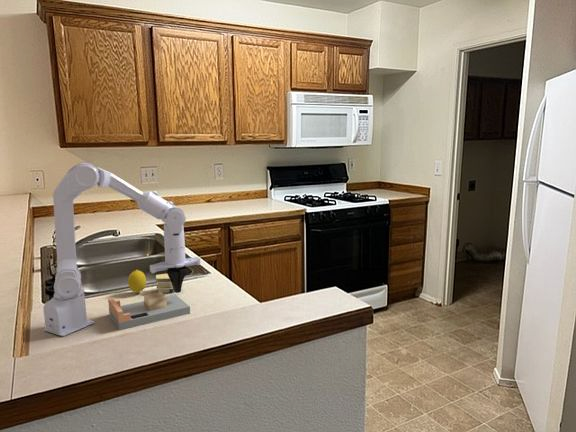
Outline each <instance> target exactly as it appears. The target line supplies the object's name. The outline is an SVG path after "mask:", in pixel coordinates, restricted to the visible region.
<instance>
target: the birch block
mask: <svg viewBox="0 0 576 432" xmlns="http://www.w3.org/2000/svg"><path fill="white" fill-rule="evenodd" d="M143 301H144V305H145V306H146V308H147V309H148V310H149V311H151V310H156V309H160V308H165V307H167V297H166V295H165V293H161V292H159V293H158V292H155V293H150V294H145V295H143Z"/></svg>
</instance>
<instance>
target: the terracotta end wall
mask: <svg viewBox="0 0 576 432" xmlns="http://www.w3.org/2000/svg"><path fill="white" fill-rule="evenodd" d="M107 299H108V300H107V301H108V310H109V309H110V311H111V312H112V314H113V315H114V317H115V318H116V319H117V321H118V322H119V323H121V322H125V321H130V320H131V317H130V313H127V314H123V311H122V309H121V308H120V307H121V306H122V305H121V300H115V298H114V297H108V298H107Z"/></svg>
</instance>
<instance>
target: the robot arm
mask: <svg viewBox="0 0 576 432" xmlns="http://www.w3.org/2000/svg"><path fill="white" fill-rule="evenodd" d="M95 186H98V188H110V189H112V190H114V191H116V192H118V193H120V194H121V195H124V196H126V197H127V198H129V199H131V200H133V201H135V202H136V203H137V208H138V209H139V210H140V211H143V212H144V213H146V214H147V215H150V216H151V217H153V218H154V219H155V218H156V219H157V220H161V221H162V223H163V242H164V258H165V260H164V261H162V262H161V261H160V262H158V263H154V264H149V272H150V273H151V274H154V273H157V272H163V271H164V272H165V274H168V276H169V278H170V280H171V283H172V285H173V289H174V290H173V292H174V293H176V294H178V293H181V290H182V286H183V282H184V279H185V277H186V274H187V273H188V268H187V267H191V266H199V265H200V266H201V258H200V257H199V256H197V257H195V256H194V257H187V258H186V244H185V243H186V241H185V231H184V230H185V229H184V224H185V222H186V220H187V217H186V215H185V213H184V211H183V210H182V209H181V208H179V207H178V206H176V204H174V202H172V200H171V201H170V200H169V201H167V200H166V199H164V198H163V197H161V196H159V193H158V192H157V191H155V190H154V191H151V190H146V191H141V190H140V189H139V188H137V187H135V186H133V185H132V184H131V183H129V182H127V181H125V180H124V179H122V178H121V177H118V176H117V175H116V174H114V173H113V172H110V171H108V170H105V169H104V168H101V167H99V166H97V167H95V165H93V164H92V163H90V162H85V161H83V162H82V161H81V162H79V163H77V164H76V165H74V166H72V167H70V169H68V170H67V172H66V173H65V175H64V176H63V177H62V179H61V180H60V182H59V183H58V185H56V187H55V189H54V190H53V194H52V198H53V202H52V203H53V216H54V218H53V219H54V231H55V232H54V233H55V234H54V235H55V249H56V266H57V267H56V270H57V271H56V273H55V277H54V279H55V280H54V281H55V282H54V284H53V289H54V291H53V292H54V293H53V297H52V298H51V299H50V300H48V301H45V302H44V305H43V316H44V325H45V327H44V328H43V330H44V331H46V332H48V333H50V334H54V335H57V336H60V337H65V336H67V335H69V334H72V333H74V332H77V331H80V330H82V329H83V328H84V329H85V328H86V327H88V326H91V325H93V324H95V321H94V320H92V319H88V318H87V307H86V305H87V304H86V297H85V289H83V288H82V287H83V286H82V273H81V270H79V267H78V264H77V250H76V231H75V230H76V229H75V214H74V213H75V211H74V209H75V208H74V200H75V199H76V198H77V197H79V196H80V195H81V194H82V193H83V192H85V191H87V190H90V189H92V188H94V187H95Z"/></svg>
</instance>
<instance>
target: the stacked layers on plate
mask: <svg viewBox="0 0 576 432" xmlns="http://www.w3.org/2000/svg"><path fill="white" fill-rule="evenodd" d="M155 283H156V290H157V293H159V292H161V293H163V294H165V293H167V294H168V293H170V292H171V290H173V291H174V289H173V285H172V283H171V280H170V278H169V276H168V274H167V273H161V274H156V275H155Z"/></svg>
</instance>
